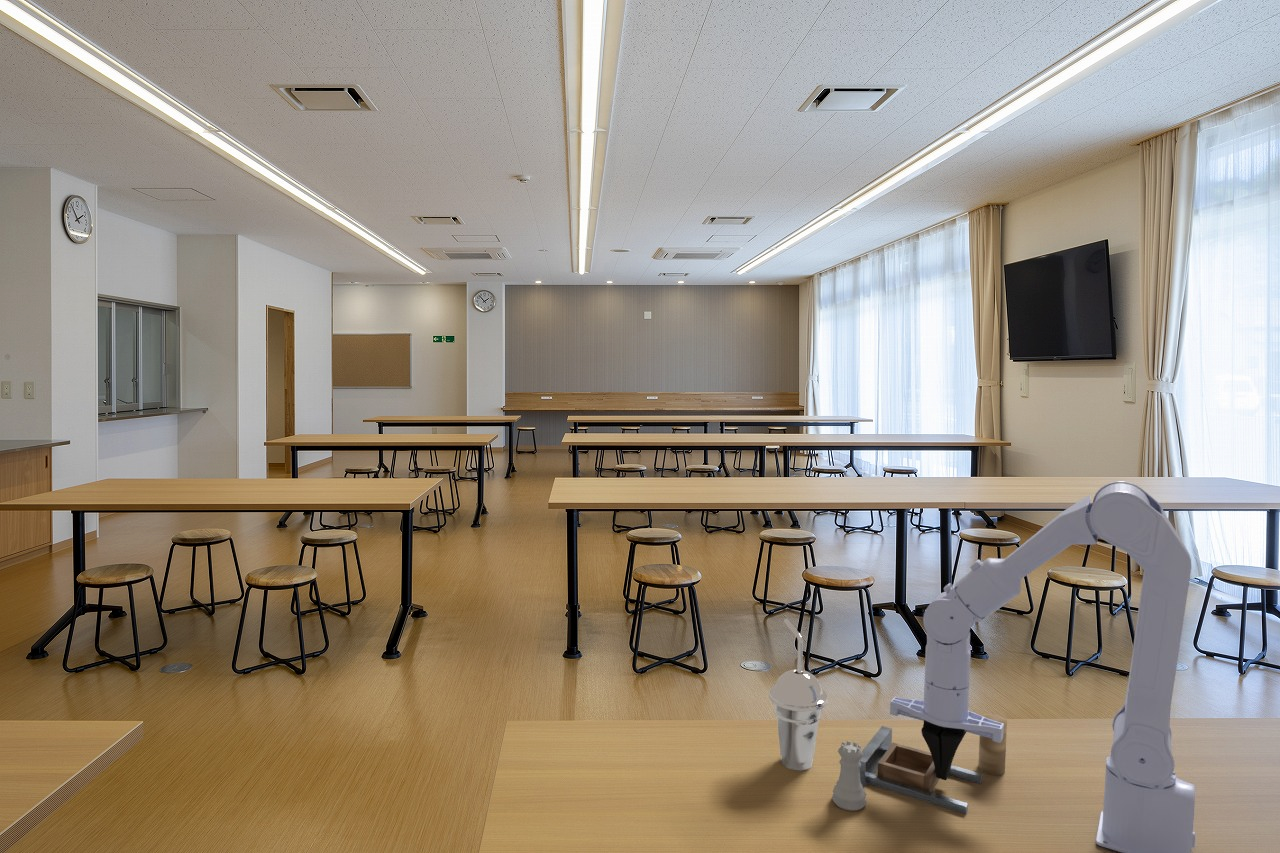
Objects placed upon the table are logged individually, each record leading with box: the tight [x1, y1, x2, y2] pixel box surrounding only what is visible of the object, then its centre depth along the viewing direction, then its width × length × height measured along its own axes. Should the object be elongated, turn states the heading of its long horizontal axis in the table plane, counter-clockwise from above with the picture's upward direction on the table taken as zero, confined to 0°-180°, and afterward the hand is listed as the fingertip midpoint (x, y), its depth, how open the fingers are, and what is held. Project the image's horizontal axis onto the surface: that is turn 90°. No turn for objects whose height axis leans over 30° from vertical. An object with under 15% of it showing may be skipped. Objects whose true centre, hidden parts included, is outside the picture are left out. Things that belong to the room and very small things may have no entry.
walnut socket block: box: [877, 742, 940, 792], centre depth 112 cm, size 7×7×3 cm
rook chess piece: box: [831, 740, 867, 812], centre depth 105 cm, size 4×4×8 cm
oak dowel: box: [977, 713, 1008, 776], centre depth 114 cm, size 4×4×8 cm
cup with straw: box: [768, 618, 829, 771], centre depth 115 cm, size 8×9×20 cm
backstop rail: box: [859, 725, 983, 815], centre depth 111 cm, size 14×12×4 cm
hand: (942, 775), depth 109 cm, fingers closed
